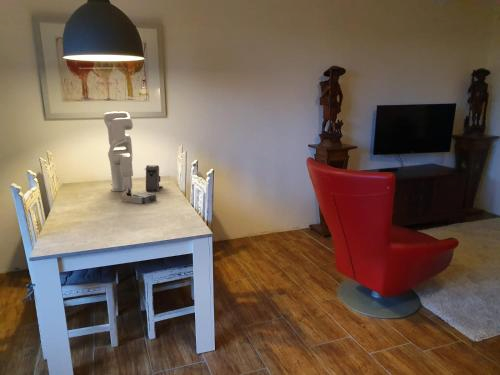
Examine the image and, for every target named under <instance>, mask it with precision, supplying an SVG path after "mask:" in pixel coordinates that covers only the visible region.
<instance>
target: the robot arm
mask: <svg viewBox="0 0 500 375" xmlns="http://www.w3.org/2000/svg"><path fill="white" fill-rule="evenodd" d="M103 121H104V124H105V126H106V128H107V134H108V144H109V149H108V150H109V151H107V157H108V161H109V164H110V172H111V173H110V174H111V183H110V186H111V188H110V191H112V192H125V196H133V195H132V194H133V193H132V189H133V178H132V177H133V176H134V171H133V146H132V145H133V144H132V137H131V136H130V135H129V134H128V133H126V131H131V130H132V129H133V128H134V124H133V121H132V118H131V116H130V114H129V113H128V112H126V111H119V112H118V111H111V112H105V113H104V114H103ZM124 147H125V148H124Z"/></svg>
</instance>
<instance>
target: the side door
mask: <svg viewBox="0 0 500 375" xmlns="http://www.w3.org/2000/svg"><path fill="white" fill-rule="evenodd" d="M121 202H125V203H134V204H140V205H145V204H144V200H143V197H134V196H133V195H132V196H126V194H125V195H123V194H121Z"/></svg>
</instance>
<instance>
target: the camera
mask: <svg viewBox="0 0 500 375" xmlns="http://www.w3.org/2000/svg"><path fill="white" fill-rule="evenodd" d="M160 183H161V176H160V166H159V165H158V164H157V165H155V164H154V165H152V164H151V165H146V167H145V192H149V193H152V192H154V193H155V192H157V193H158V192H159V190H160V188H163V186H162V185H161V186H160Z"/></svg>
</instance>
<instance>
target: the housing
mask: <svg viewBox="0 0 500 375" xmlns="http://www.w3.org/2000/svg"><path fill="white" fill-rule="evenodd" d="M132 196H134V197H143V200H144V204H143V205H147V204H151V203H153V202H156V201H157V194H156V193H152V192H147V191H142V192H138V193H135V194H133V195H132Z"/></svg>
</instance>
